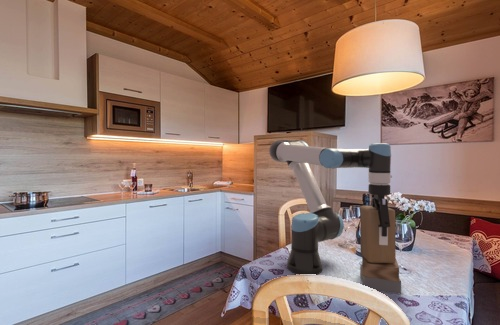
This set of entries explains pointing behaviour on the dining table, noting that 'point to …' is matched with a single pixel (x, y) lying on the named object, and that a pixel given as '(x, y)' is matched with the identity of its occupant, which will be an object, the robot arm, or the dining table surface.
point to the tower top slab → (380, 270)
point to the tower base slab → (381, 284)
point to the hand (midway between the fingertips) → (378, 239)
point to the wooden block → (376, 236)
